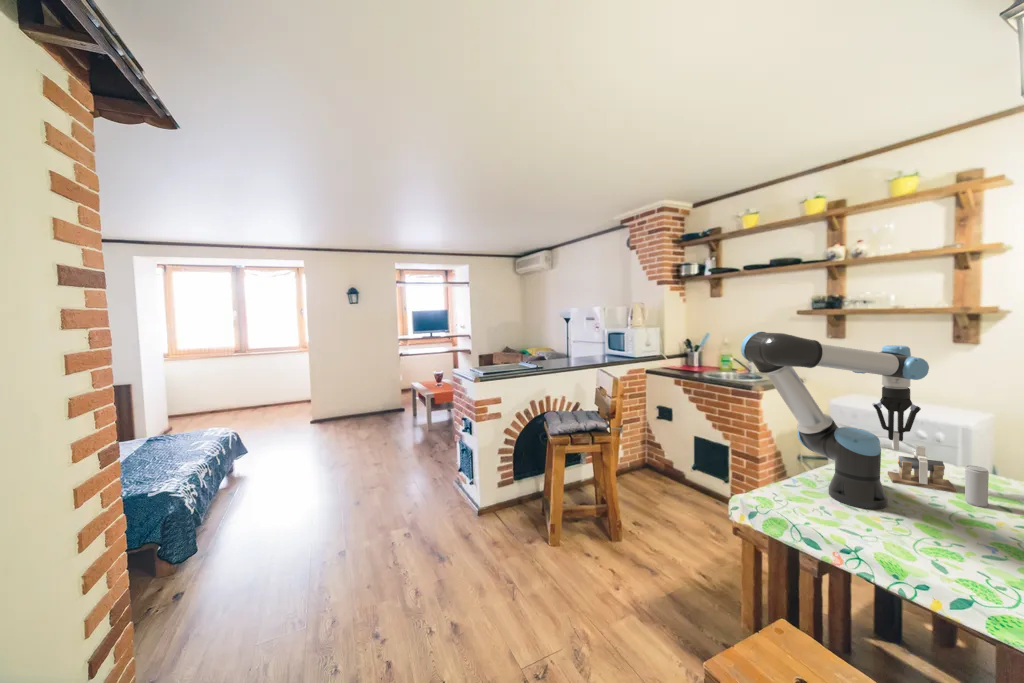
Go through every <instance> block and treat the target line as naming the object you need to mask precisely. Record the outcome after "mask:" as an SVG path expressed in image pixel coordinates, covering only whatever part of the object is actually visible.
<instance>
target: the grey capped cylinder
mask: <svg viewBox="0 0 1024 683" xmlns="http://www.w3.org/2000/svg"><path fill="white" fill-rule="evenodd" d="M902 461H906V462H911V463H912V470H914V469H919V460H918V459H917V458H914V457H911V456H902V455H898V458H897V464H898V468H899V467H902ZM927 462H928V472H930V471H933V465H937V466H943V467H944V471H945V469H946V467H945V464H944V462H943V460H934V459H928V458H927Z"/></svg>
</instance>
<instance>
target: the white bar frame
mask: <svg viewBox="0 0 1024 683" xmlns="http://www.w3.org/2000/svg"><path fill="white" fill-rule="evenodd" d="M913 458H917V459H918V460H919V469H912V470H913V474H912V475H916V476H919V483H920V484H927V483H928V477H929V474H928V472H929V471H928V462H927V459H928V458H927V457H926V447H925V446H924V445H916V446H915V451H913Z"/></svg>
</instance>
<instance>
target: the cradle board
mask: <svg viewBox="0 0 1024 683" xmlns="http://www.w3.org/2000/svg"><path fill="white" fill-rule="evenodd" d="M912 470H913V469H912V463H911V462H906V461H902V467H899V466H898V472H894V471H887V475H888V477H889V479H890V480H891V482H892V483H893V484H899V485H906V486H913V487H918V488H919V487H920V488H925V489H933V490H940V491H945V492H953V493H957V492H958V490H957V488H956V487H955V485H953V484H952V482H951V481H950V480H949V479H945V478H944V475H945V470H944V467H943V466H937V465H933V471H929V476H928V483H927V484H920V483H919V476H916V475H913V474H912Z"/></svg>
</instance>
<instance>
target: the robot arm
mask: <svg viewBox="0 0 1024 683" xmlns="http://www.w3.org/2000/svg"><path fill="white" fill-rule="evenodd" d="M740 352H741V355H742V357H743V358H744V359H745V360H747V361H748V362H751V363H753V365H754V366H755V367H756V369H757V371H758V372H759V373H761V374H763V375H766V376H767V378H768V379H769V381H770V382H771V384H772V385H773V387H774V388H775V389H776V391H777V393H778V394H779V396H780V398H782V400H783V402H784V403H785V405H786V406H787V407H788V409H789V411H790V413H791V414H792V415H793V416H794V418H795V419H796V421H797V424H796V429H797V434H796V435H797V437H798V440H799V442H800V444H801V445H803V447H804V448H806V449H808V450H809V451H811V452H814V453H816V454H819V455H821V456H823V457H825V458H828V459H830V460H832V461H834V474H833V476H832V479H831V481H830V483H829V485H828V495H829V496H830V497H831V498H832V499H834V500H836V501H838V502H840V503H842V504H845V505H848V506H851V507H852V506H853V507H856V508H861V509H862V508H863V509H871V510H880V509H884V508H886V507H888V497H887V494H886V492H885V489H884V486H883V484H882V483H881V482H882V481H881V467H882V466H881V462H882V459H881V458H882V457H881V456H882V448H881V440H880V439H879V437H878V436H877V435H875V434H874V433H872V432H870V431H868V430H864V429H859V428H857V427H850V426H841V427H839V426H838V425H837V423H836V422H835V420H834V419H833V417H832V416H831V415H829V414H826V413H823V411H822V410H821V408H820V406H819V404H818V403H817V401H815V399H814V397H813V396H812V394H811V393H810V391H809V390H808V389H807V386H806V385H805V384H804V382H803V381H802V379H801V378H800V376H799V374H798V373H797V372H796V370H795V369H794V368H796V367H798V368H808V369H813V368H816V367H823V368H828V369H837V370H842V371H850V372H853V373H855V374H864V375H865V374H872V375H878V376H879V375H880V376H881V385H882V387H881V398H880V400H879V401H878V402H873V403H872V404H871V405H872V407H873V408H874V409H875V411H876V414H877V416H878V420H879V423H880V426H881V428H882V429H883V430H885V431H887V433H888V434H887V435H888V436H887V438H888V440H890V441H891V448H892V449H893V450H895V451H900V442H903V441H904V433H908V432H911V430H912V428H913V424H914V422H915V419H916V417H917V414H918V413H919V412H920V411H921V409H922V408H921V407H920V406H919V405H915V404H913V402H912V400H911V388H910V387H911V380H913V381H918V380H922V379H924V378H925V377H926V376H927V375H928V373H929V371H930V370H929V369H930V365H929V363H928V361H927V360H925V359H924V358H922V357H917V356H916V357H915V356H912V353H911V348H910V347H909V346H906V345H893V344H892V345H883V346H882V348H881V351H879V352H878V351H873V350H872V351H871V350H866V349H865V350H864V349H858V348H852V347H851V348H850V347H843V346H837V345H836V346H835V345H831V344H830V345H829V344H823V343H821V342H820V341H818V340H816V339H810V338H809V339H808V338H804V337H800V336H796V335H792V334H787V333H783V332H782V333H781V332H766V331H758V332H756V331H755V332H752V333H750V334H748V335H747V336H745V338H743V340H742V342H741V345H740ZM882 407H884V408H885V409H886V410H887V422H888V423H886V420H885V417H884V414H883V411H882ZM908 409H910V412H909V414H908V417H907V419H906V422H904V417H905V416H904V415H905V412H906V411H907V410H908ZM895 412H896V414H897V430H895V428H894V427H895V426H894V425H895ZM904 423H905V424H904Z"/></svg>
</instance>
